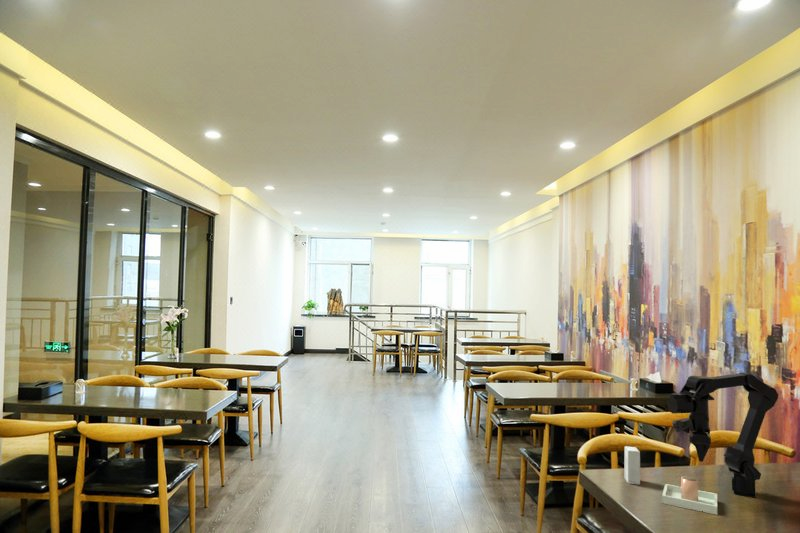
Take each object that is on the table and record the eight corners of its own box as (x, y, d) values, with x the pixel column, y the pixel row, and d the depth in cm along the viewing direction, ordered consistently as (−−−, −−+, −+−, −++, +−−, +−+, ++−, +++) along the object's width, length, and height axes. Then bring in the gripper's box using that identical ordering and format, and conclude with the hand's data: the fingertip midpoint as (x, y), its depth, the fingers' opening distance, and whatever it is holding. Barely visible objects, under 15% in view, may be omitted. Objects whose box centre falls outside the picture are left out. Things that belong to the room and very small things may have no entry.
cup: (698, 499, 170) (698, 478, 170) (698, 504, 165) (698, 482, 166) (681, 496, 172) (681, 475, 173) (680, 500, 168) (680, 479, 168)
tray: (717, 501, 170) (717, 493, 170) (717, 514, 159) (717, 506, 159) (665, 490, 178) (665, 483, 178) (662, 503, 168) (662, 495, 168)
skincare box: (640, 485, 183) (640, 451, 184) (628, 483, 184) (627, 450, 185) (636, 479, 189) (636, 446, 190) (624, 478, 190) (624, 445, 191)
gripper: (674, 405, 190) (675, 447, 189) (672, 415, 173) (673, 461, 173) (709, 408, 184) (710, 451, 183) (710, 419, 168) (711, 467, 167)
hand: (700, 457), depth 177 cm, fingers open, 9 cm apart
